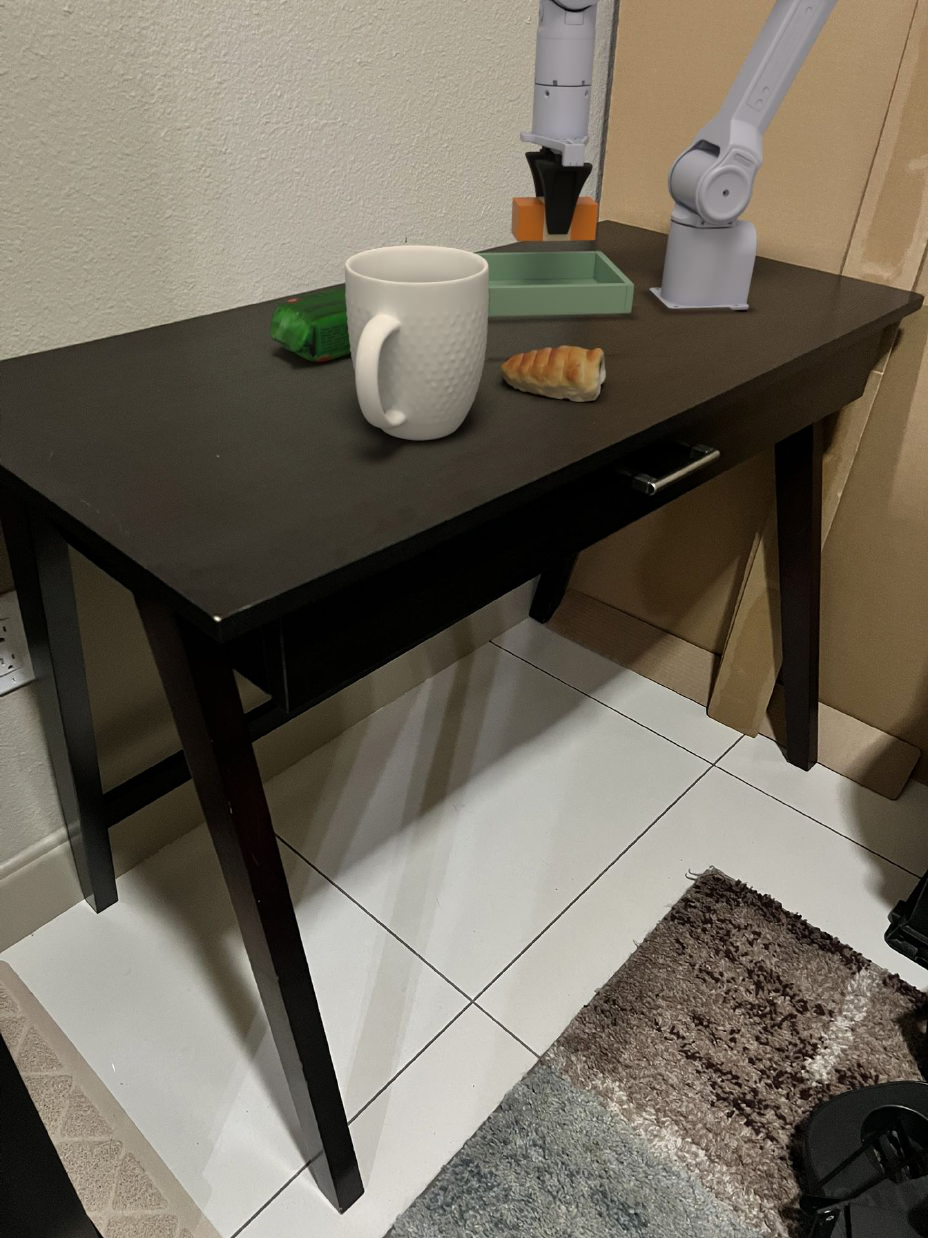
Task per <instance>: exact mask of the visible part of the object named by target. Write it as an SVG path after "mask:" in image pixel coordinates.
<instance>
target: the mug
mask: <svg viewBox="0 0 928 1238" xmlns="http://www.w3.org/2000/svg"><path fill="white" fill-rule="evenodd" d="M475 253H476V252H471V251H469V250H464V249H460V248H455V247H448V246H438V245H422V244H421V245H418V244H417V245H415V244H414V245H412V244H411V245H410V244H409V245H408V244H407V245H392V246H384V247H377V248H371V249H367V250H363V251H361V252H357V253H356V254H353V255H351V256H350V257H348V258H347V259H346V260H345V262H344V281H345V282H344V283H345V287H346V294H345V297H346V305H347V306H346V307H347V313H346V314H347V318H348V319H347V323H348V333H349V341H350V351H351V354H350V357H351V361H352V367H353V370H354V374H355V377H354V378H355V390H356V396H357V400H358V404H359V407H360V410H361V412H362V415H363V417H364V418H365V419H366V421H367V422H368V423H369V424H371V425H372V426H373V427H375V428H379V429H381V430H382V431H383V432H384V433H385V434H388V435H389V436H392V437H394V438H399V439H402V440H408V441H430V440H431V441H432V440H437V439H441V438H444V437H447V436H449V435H451V434H453V433H454V432H455V431H456V430H458V428H459V427H460V426H461V425H462V424H463V422H464V420H465V419H466V417H467V415H468V414H469V411H470V410H471V408H472V406H473V404H474V402H475V399H476V395H477V393H478V391H479V387H480V383H481V379H482V376H483V369H484V366H485V360H486V352H487V351H486V350H487V343H488V341H487V339H488V337H487V336H488V333H489V332H488V331H489V330H488V326H489V317H488V304H489V302H488V299H489V293H488V290H489V267H488V263H487V261H486V260H485V259H484V258H483V257H481V256H479V255H477V254H475Z"/></svg>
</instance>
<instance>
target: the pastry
mask: <svg viewBox="0 0 928 1238" xmlns="http://www.w3.org/2000/svg"><path fill="white" fill-rule="evenodd" d="M605 361H606V360H605V352H604V350H603V349H602V348H600V347H596V348H594V349H587V348H583V347H579V346H576V345H575V346H571V345H565V344H563V345H560V346H558V347H555V348H554V347H544V348H542V349H533V350H531V351H529V352H521V353H519V354H515V355H513V356H511V357H510V358H509V359H507V360H506V361H505V362H503V363H502V364H501V367H500V370H501V375H502V378H503V379H504V380H505V382H506V383H507V384H508V385H510V386H511V387H512V388H514V390H516V389H518V390H519V391H520V392H524V393H525V392H529V393H531V394H534V395H535V396H536V395H539V396H545V397H547V398H552V399H558V400H563V399H569V400H570V402H571V401H572V402H580V403H581V402H583V403H584V402H590V401H596V400H597V398H598V397H599V395H600V394H601V388H602V387H601V385H602V384H603V383H604V382H605V380H606V377H607V373H606V372H607V371H606V367H605V366H606V363H605Z"/></svg>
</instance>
